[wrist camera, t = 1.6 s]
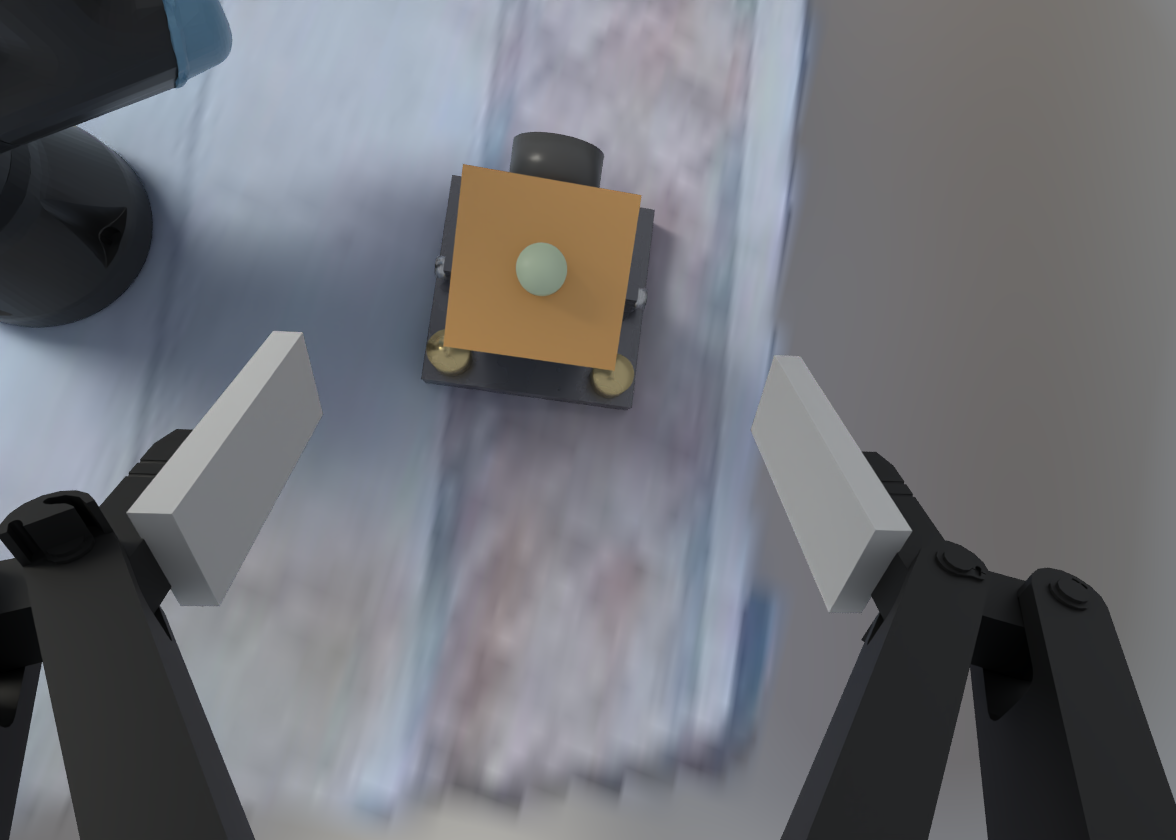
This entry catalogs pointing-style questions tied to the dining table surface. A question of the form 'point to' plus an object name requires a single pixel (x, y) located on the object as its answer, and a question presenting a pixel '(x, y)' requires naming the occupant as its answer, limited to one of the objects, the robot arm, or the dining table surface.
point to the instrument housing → (542, 256)
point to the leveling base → (532, 373)
